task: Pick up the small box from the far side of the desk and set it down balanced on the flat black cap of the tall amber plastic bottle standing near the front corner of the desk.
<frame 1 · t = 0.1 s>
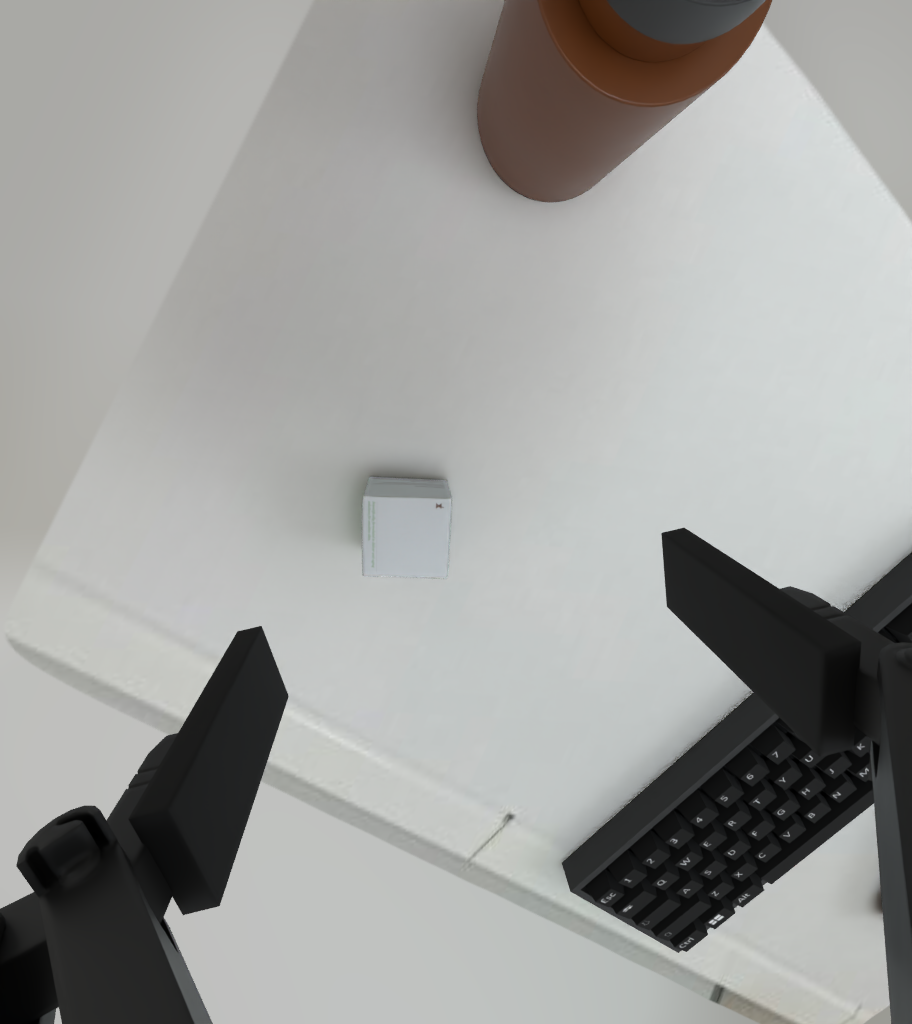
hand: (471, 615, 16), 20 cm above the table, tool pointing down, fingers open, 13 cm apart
bottle: (553, 114, 29), on the table
computer keyboard: (784, 748, 47), on the table
small box: (406, 513, 36), on the table
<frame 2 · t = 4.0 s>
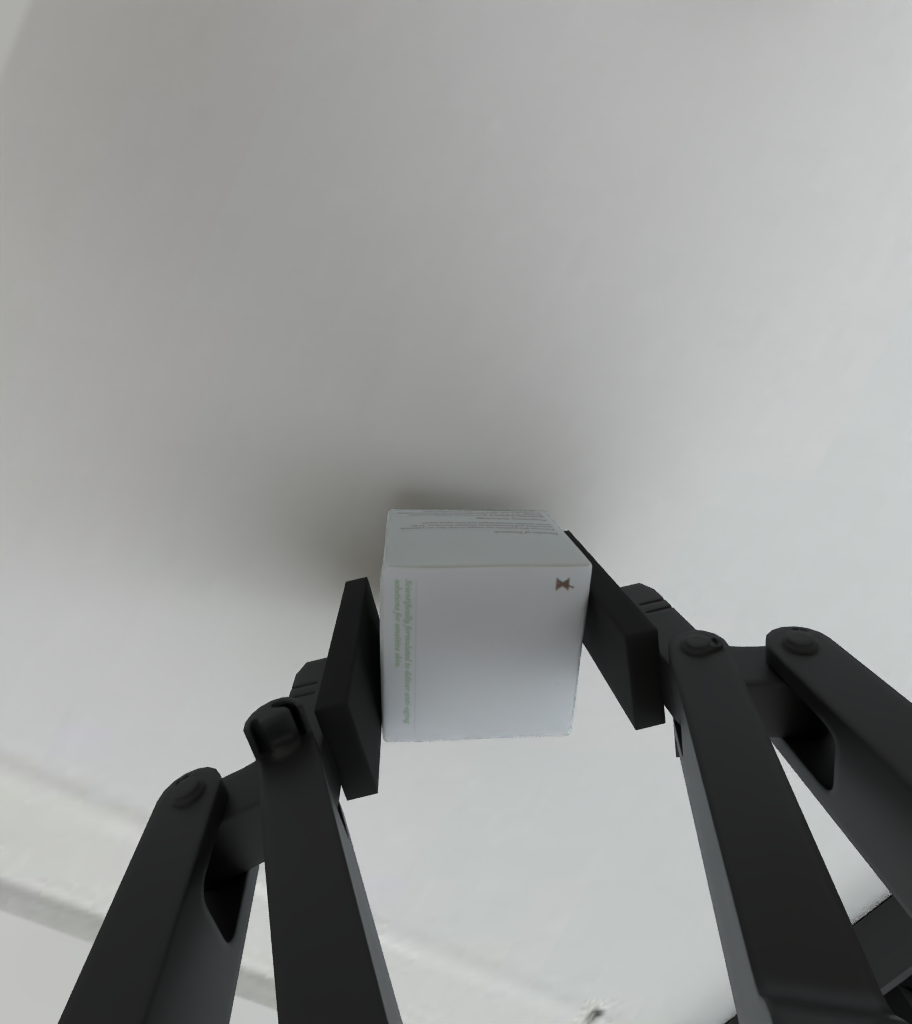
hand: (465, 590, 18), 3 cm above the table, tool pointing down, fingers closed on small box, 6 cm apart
small box: (463, 578, 18), point 2 cm above the table, touching gripper
when the fingers open (17 cm above the table, at t = 9.3 s): small box stays where it is, resting on bottle.
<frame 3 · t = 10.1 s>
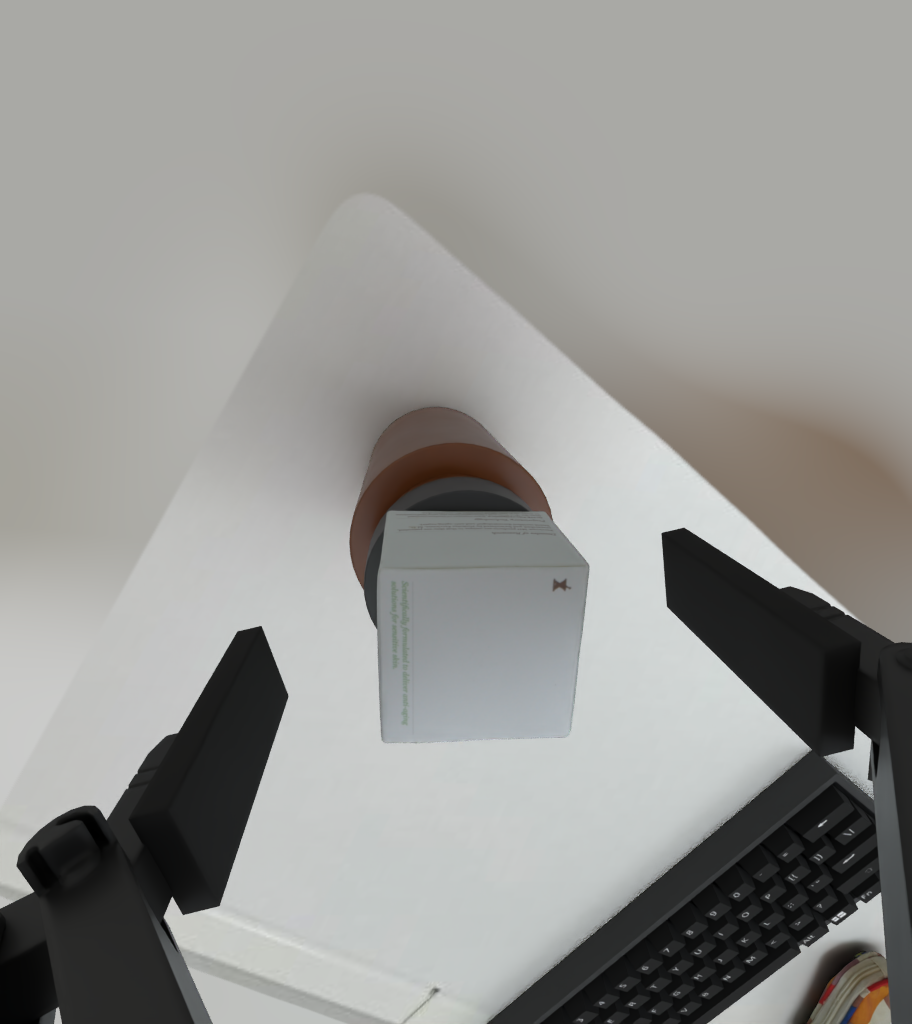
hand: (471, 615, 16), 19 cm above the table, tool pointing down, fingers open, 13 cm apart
pencil case: (825, 997, 59), on the table
bottle: (435, 473, 34), on the table
computer keyboard: (685, 925, 52), on the table
small box: (463, 579, 18), point 17 cm above the table, touching bottle
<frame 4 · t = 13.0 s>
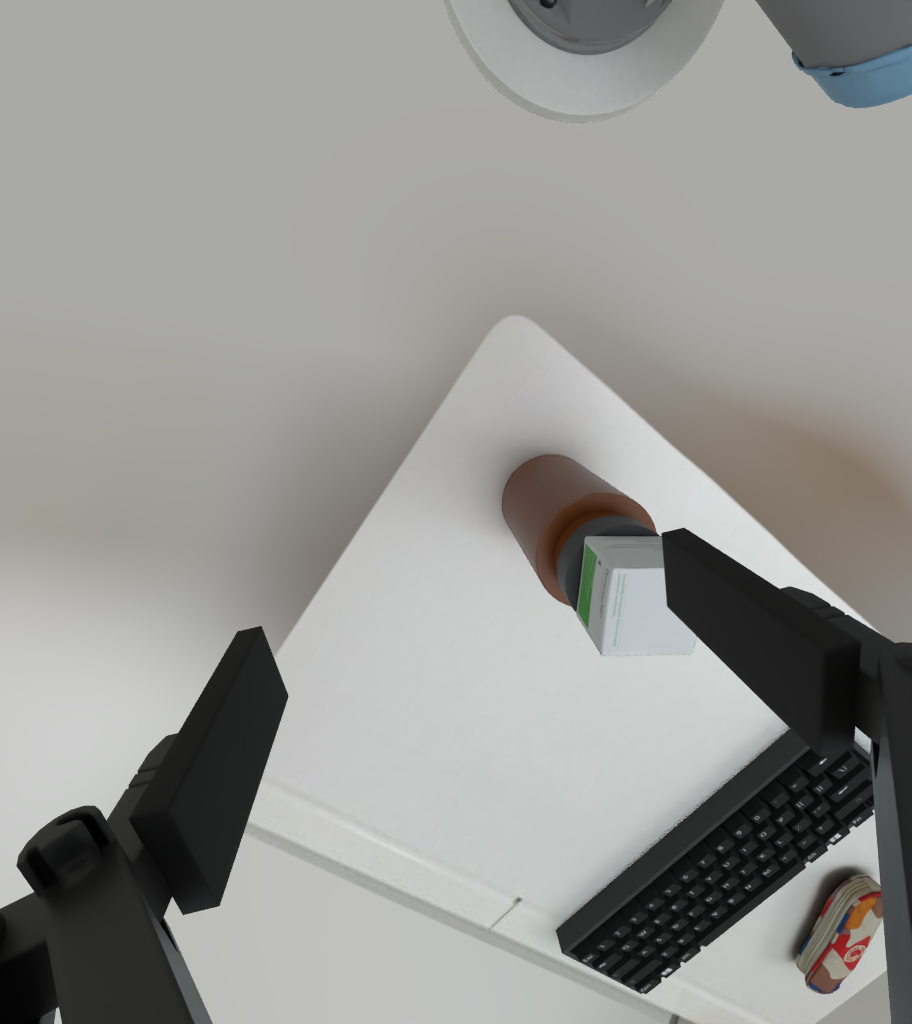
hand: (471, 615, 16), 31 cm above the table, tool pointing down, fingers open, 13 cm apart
pencil case: (825, 915, 73), on the table
bottle: (547, 500, 48), on the table
computer keyboard: (715, 849, 66), on the table
small box: (619, 574, 32), point 17 cm above the table, touching bottle
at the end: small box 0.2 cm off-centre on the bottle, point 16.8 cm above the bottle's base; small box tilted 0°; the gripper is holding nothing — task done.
